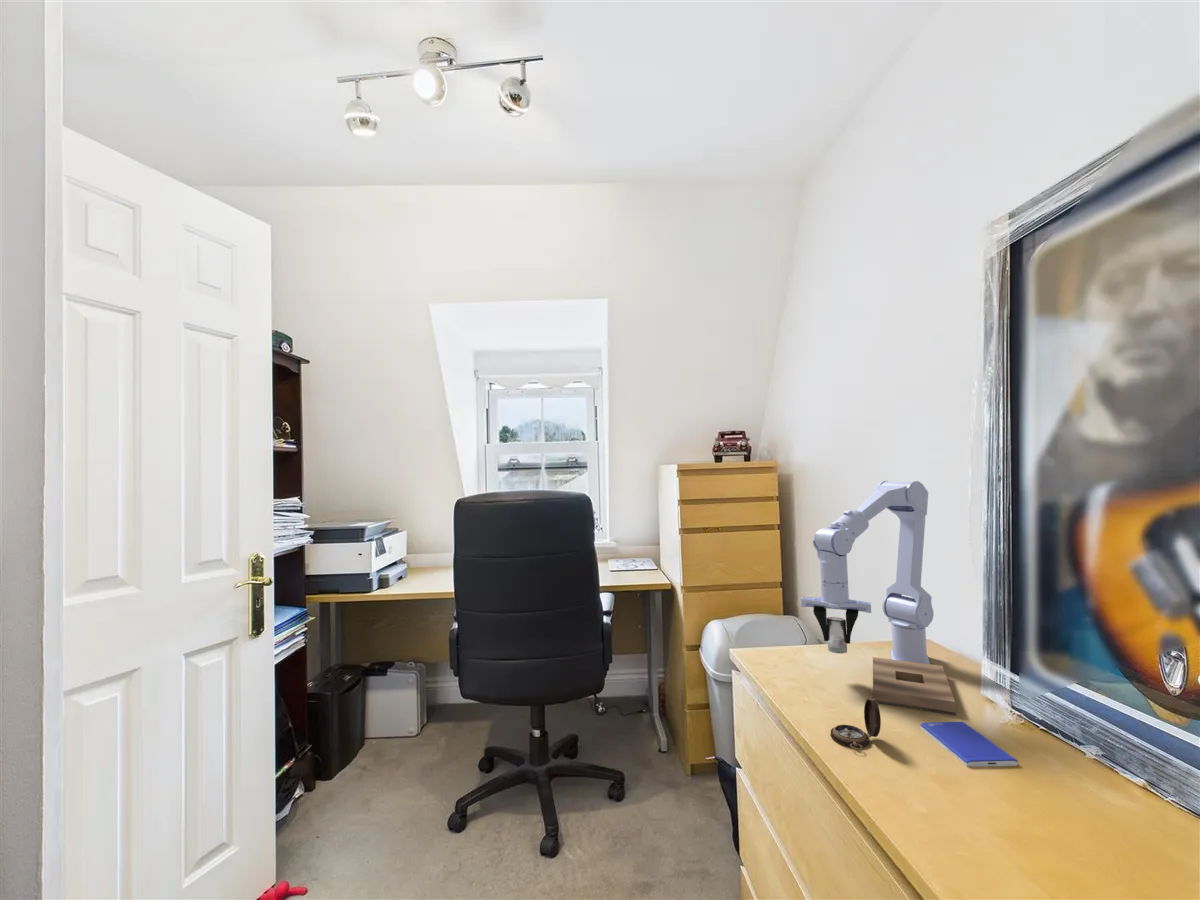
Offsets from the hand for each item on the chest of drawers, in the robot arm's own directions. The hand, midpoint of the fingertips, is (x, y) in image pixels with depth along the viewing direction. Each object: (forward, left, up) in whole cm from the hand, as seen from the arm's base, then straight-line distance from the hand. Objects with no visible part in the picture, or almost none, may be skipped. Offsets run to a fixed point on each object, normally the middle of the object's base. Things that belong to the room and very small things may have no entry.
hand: (837, 641), depth 119 cm
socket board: (0, +14, -8) cm, 16 cm away
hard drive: (+22, +21, -9) cm, 32 cm away
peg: (0, 0, -2) cm, 2 cm away
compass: (+28, +4, -9) cm, 30 cm away
